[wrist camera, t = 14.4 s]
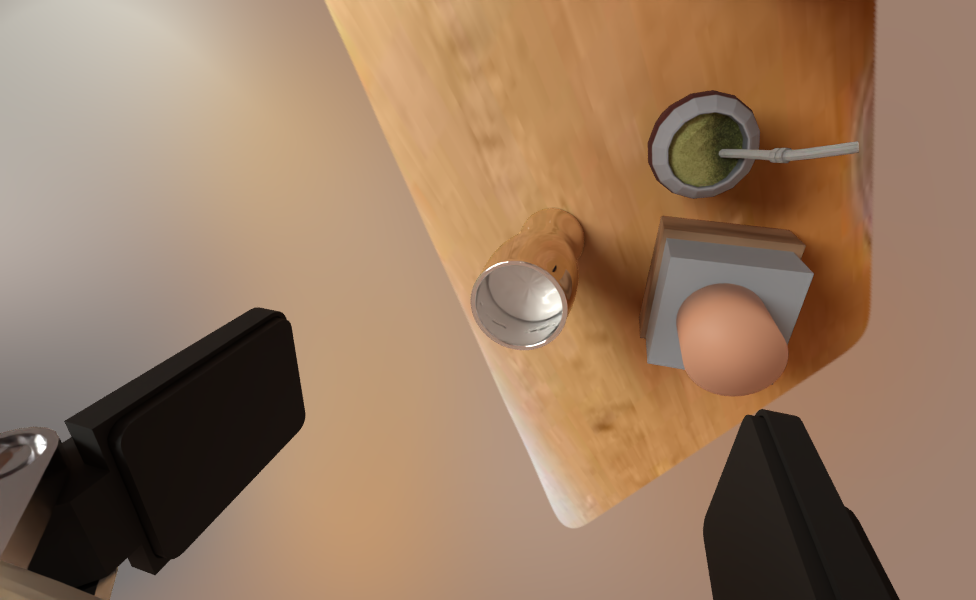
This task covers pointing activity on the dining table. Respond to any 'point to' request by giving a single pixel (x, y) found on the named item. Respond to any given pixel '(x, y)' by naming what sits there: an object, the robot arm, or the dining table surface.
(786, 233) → the walnut base block
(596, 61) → the dining table surface
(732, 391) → the peach rounded cylinder
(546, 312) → the beer glass
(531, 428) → the dining table surface
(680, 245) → the slate top block
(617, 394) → the dining table surface
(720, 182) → the mate gourd
